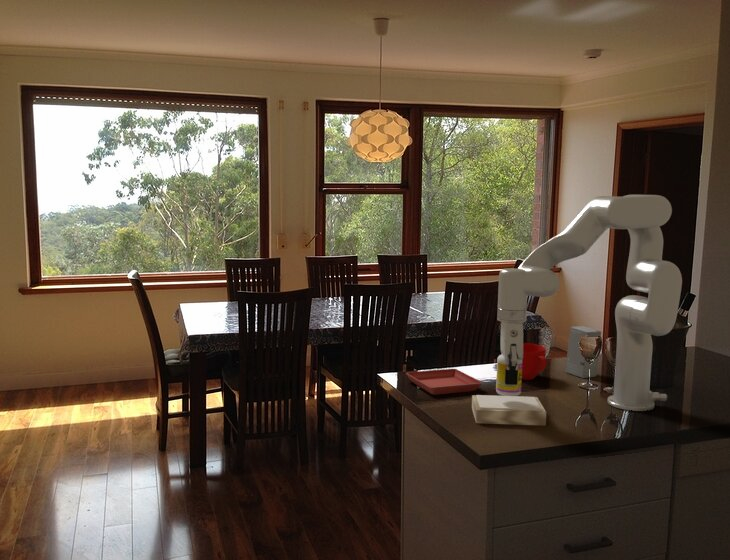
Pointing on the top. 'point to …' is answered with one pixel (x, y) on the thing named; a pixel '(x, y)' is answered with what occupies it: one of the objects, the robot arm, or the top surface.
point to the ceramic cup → (533, 360)
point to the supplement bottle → (500, 381)
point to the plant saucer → (444, 381)
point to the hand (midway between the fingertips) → (509, 379)
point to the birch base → (508, 410)
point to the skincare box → (574, 358)
